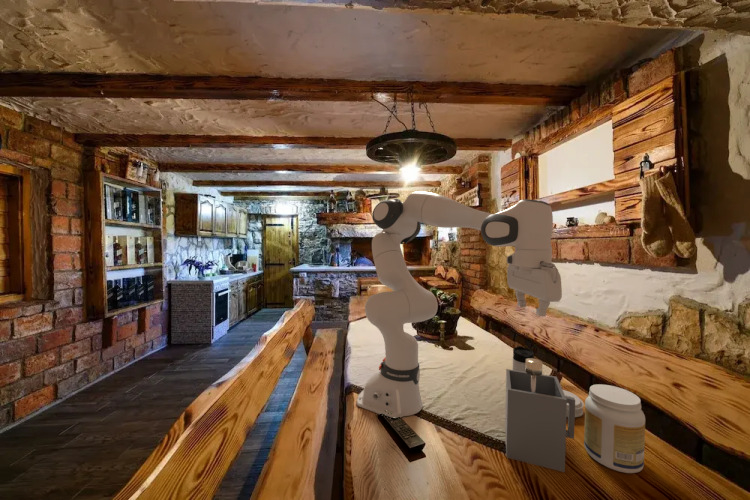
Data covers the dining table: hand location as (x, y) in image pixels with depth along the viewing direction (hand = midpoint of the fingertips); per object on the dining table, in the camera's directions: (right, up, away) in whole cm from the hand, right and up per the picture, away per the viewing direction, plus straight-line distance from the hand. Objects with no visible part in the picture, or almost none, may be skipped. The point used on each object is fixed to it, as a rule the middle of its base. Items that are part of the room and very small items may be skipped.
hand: (530, 310), depth 81 cm
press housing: (+2, -37, 0) cm, 37 cm away
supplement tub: (+20, -38, -3) cm, 43 cm away
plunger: (0, -36, 0) cm, 36 cm away
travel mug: (+7, -37, +19) cm, 42 cm away
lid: (+20, -37, +19) cm, 46 cm away
